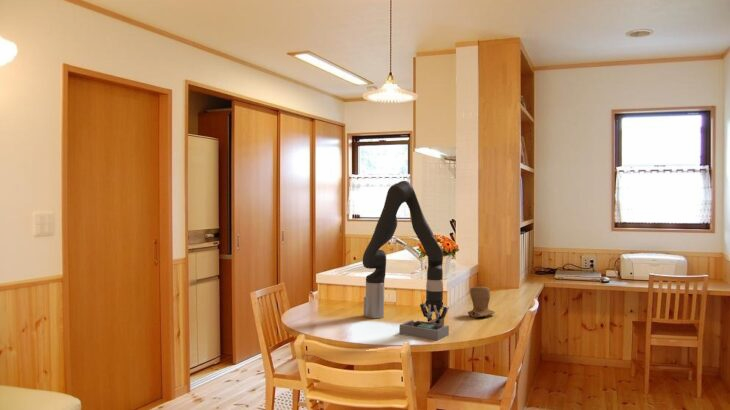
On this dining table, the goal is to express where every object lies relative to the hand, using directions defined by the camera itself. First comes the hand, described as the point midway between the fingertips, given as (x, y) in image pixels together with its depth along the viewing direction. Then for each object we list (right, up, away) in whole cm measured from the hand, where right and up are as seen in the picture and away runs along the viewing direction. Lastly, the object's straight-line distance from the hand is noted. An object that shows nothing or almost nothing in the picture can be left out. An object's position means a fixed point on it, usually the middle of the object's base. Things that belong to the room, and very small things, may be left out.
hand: (433, 327), depth 259 cm
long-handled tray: (0, -1, 0) cm, 1 cm away
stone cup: (+27, -1, +32) cm, 42 cm away
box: (-5, -1, -8) cm, 10 cm away
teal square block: (-4, -2, -7) cm, 9 cm away
